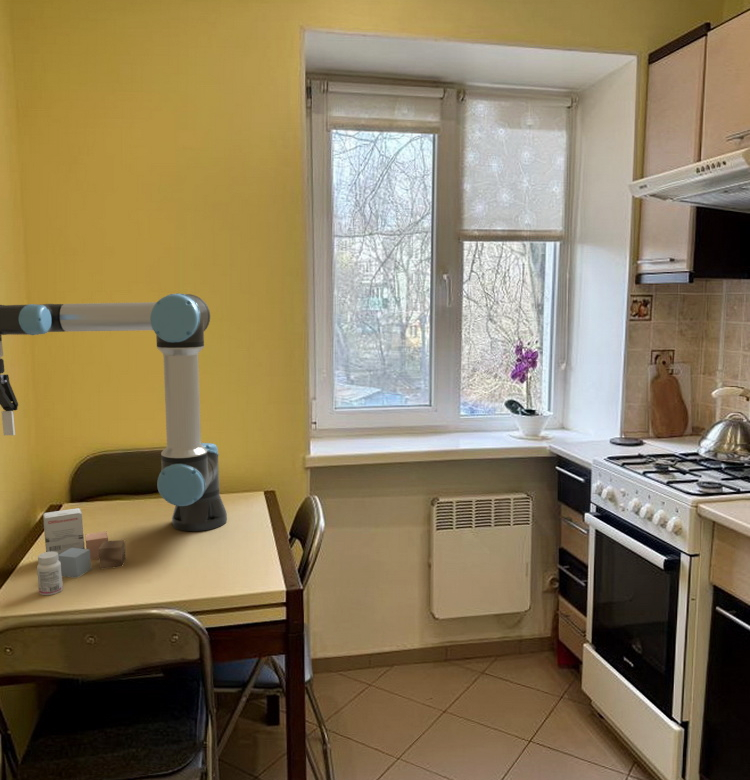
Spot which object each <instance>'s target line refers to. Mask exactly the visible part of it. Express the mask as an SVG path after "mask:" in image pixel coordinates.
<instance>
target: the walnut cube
mask: <svg viewBox="0 0 750 780" xmlns="http://www.w3.org/2000/svg"><path fill="white" fill-rule="evenodd" d="M126 558H127V557H126V545H125V539H119V540H118V539H117V540H116V539H115V540H108V541H103V542H102V544H101V546H100V547H99V558H98V560H99V569H100V570H101V569H111V568H113V567H115V568H123V566H122V565H124V564H125V561H126ZM123 563H124V564H123ZM113 569H114V568H113Z"/></svg>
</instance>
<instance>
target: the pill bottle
mask: <svg viewBox="0 0 750 780" xmlns="http://www.w3.org/2000/svg"><path fill="white" fill-rule="evenodd" d="M58 558H59V557H58V553H57V552H54V551H51V552H46V551H45V552H42V553H40V554H38V555H37V562H38V564H37V566H36V572H37V573H36V575H37V584H38V586H37V587H38V593H39V594H40V595H42V596H53V595H56V594H59V593H60V592H61V591H62V590H63V589H64V587H63V586H64V585H63V576H62V573H61V563H60V561H59V560H58Z"/></svg>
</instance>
